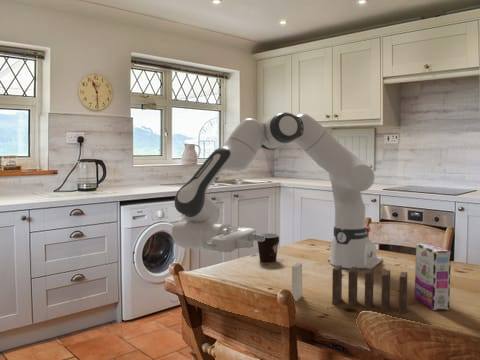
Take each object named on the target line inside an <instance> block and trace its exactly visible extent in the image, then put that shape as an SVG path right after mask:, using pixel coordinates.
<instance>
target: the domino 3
mask: <svg viewBox="0 0 480 360" xmlns="http://www.w3.org/2000/svg"><path fill="white" fill-rule="evenodd" d="M374 269H375V268H366V271H364V309H369V310H372V307H373V305H374V286H375V285H374V284H375V282H374V280H375V279H374V274H375V270H374Z"/></svg>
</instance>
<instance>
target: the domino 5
mask: <svg viewBox="0 0 480 360" xmlns="http://www.w3.org/2000/svg"><path fill="white" fill-rule="evenodd" d="M398 284H399V285H398V287H399V288H398V289H399V290H398V295H399V296H398V314H403V315H406V312H407V307H408V303H407V302H408V272H406V271H401V272H400V274H399V282H398Z"/></svg>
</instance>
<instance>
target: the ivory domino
mask: <svg viewBox="0 0 480 360" xmlns="http://www.w3.org/2000/svg"><path fill="white" fill-rule="evenodd" d="M292 294H293V296H294V299H295V301H294V302H298V301H299V300H300V299H301V298H302V297H303V262H296V263H294V264H293V265H292V266H291V295H292ZM299 298H300V299H299Z"/></svg>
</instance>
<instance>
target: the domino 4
mask: <svg viewBox="0 0 480 360" xmlns="http://www.w3.org/2000/svg"><path fill="white" fill-rule="evenodd" d="M390 296H391V270H388V269H384V270H383V272H382V274H381V310H380V311H381V312H388V311H389V309H390V305H391V302H390V299H391V297H390Z"/></svg>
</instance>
